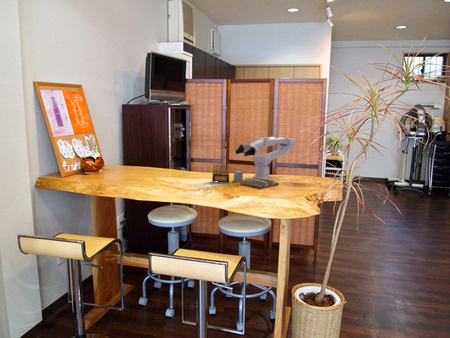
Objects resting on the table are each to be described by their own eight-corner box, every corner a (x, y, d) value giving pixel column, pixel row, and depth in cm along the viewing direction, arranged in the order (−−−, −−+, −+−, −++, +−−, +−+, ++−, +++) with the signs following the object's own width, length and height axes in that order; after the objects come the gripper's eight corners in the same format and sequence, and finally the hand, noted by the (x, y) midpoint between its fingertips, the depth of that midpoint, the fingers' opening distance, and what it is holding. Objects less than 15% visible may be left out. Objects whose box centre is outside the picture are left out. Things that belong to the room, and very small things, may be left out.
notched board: (258, 180, 244) (258, 175, 243) (278, 185, 233) (278, 179, 232) (240, 184, 231) (240, 178, 230) (260, 189, 220) (260, 183, 219)
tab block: (237, 180, 244) (238, 171, 243) (242, 181, 241) (242, 172, 240) (233, 180, 241) (234, 171, 240) (238, 181, 238) (238, 172, 237)
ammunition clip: (212, 181, 235) (212, 163, 233) (212, 181, 237) (213, 162, 235) (228, 183, 233) (229, 164, 231) (229, 182, 235) (230, 163, 233)
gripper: (245, 139, 246) (231, 145, 238) (262, 142, 236) (248, 149, 228) (246, 149, 249) (232, 156, 240) (263, 152, 239) (249, 160, 230)
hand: (240, 153), depth 234 cm, fingers open, 7 cm apart
